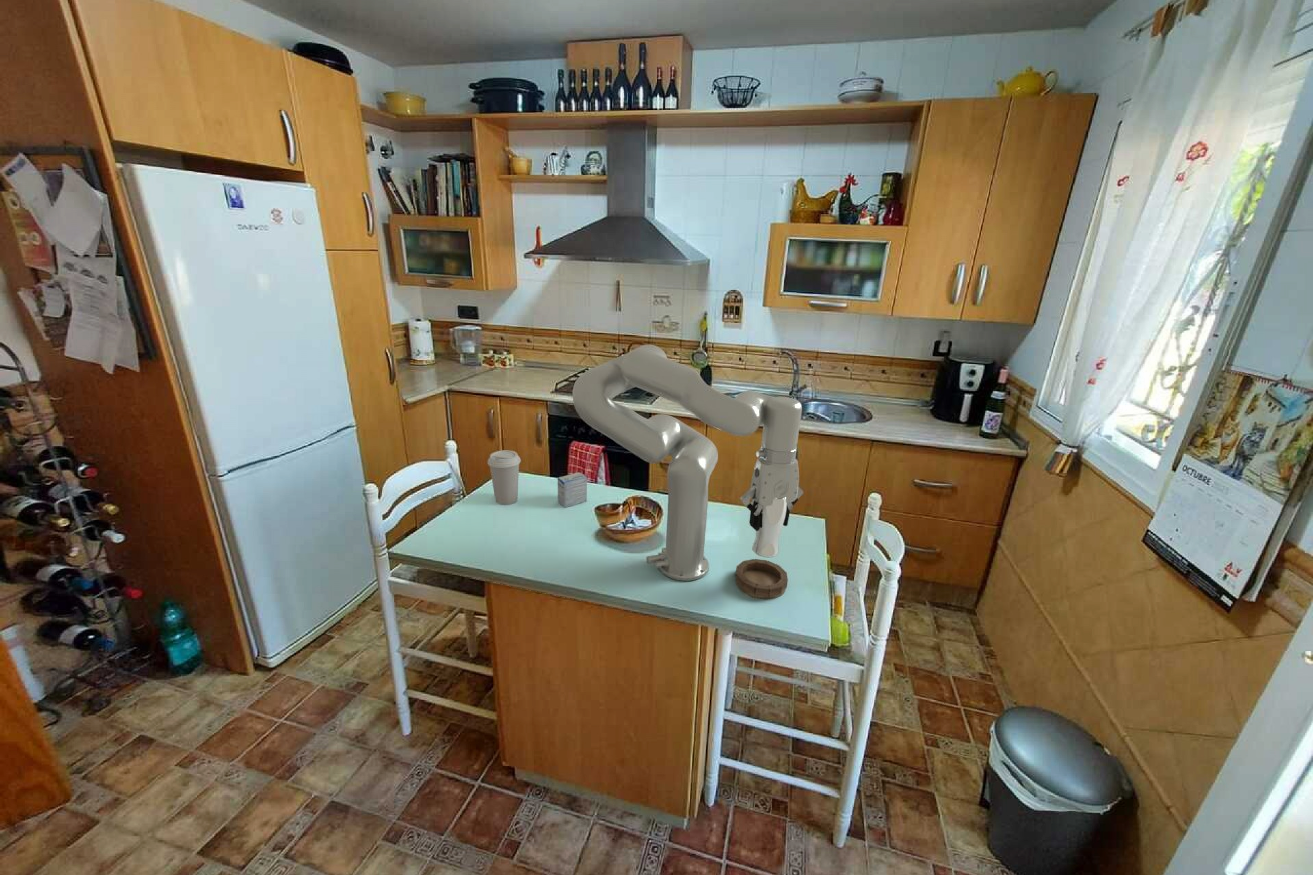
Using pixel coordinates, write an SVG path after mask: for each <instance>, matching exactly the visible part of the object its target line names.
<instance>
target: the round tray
mask: <svg viewBox="0 0 1313 875" xmlns="http://www.w3.org/2000/svg"><path fill="white" fill-rule="evenodd" d="M735 568H736V570H735V579H734V581H735V584H736V586H737V588H738V589H739V590H740V591H741V592H742V593H743V594H745V595H748V596H750V597H752V598H756V599H760V600H761V599H762V600H772V599H777V598H779V597H781V596H783V595H784V594H785V592H786V589H787V588H788V581H789V579H788V573H787V571H786V570H785V569H784V568H782V566H780V565H779V564H777V563H775V562H773V561H769V560H765V559H757V558H752V559H748V560H747V559H746V560H743V561H742V562H740V563H739V564H737V565H736V567H735Z"/></svg>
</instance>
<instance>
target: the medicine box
mask: <svg viewBox="0 0 1313 875" xmlns="http://www.w3.org/2000/svg"><path fill="white" fill-rule="evenodd" d="M587 496H588V477H587V476H586V475H585V474H583V473H582V472H575V473H571V474H567V475H564V476H559V477H557V502H558V504H559V505H561V507H562V508H564V509H566V508H569V507H573V506H575V505H579V504H582V503H586V502H588V498H587Z"/></svg>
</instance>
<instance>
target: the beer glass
mask: <svg viewBox="0 0 1313 875" xmlns="http://www.w3.org/2000/svg"><path fill="white" fill-rule="evenodd" d="M757 505H758V503H757ZM757 505H756V507H757ZM756 507H755V508H756ZM786 510H787V503H786V497H785V498H781V499H773V503H772V505H771V506H763V508H762V510H761V511H760V513H759V514H760V515H761V522H760V530H759V531H756V530H755V538H754V541H753V543H752V546H751V547H752V548H751V549H752V551H753V553H754V554H756V555H757V556H759V557H762V558H775V557H776V556H778V554H779V552H780V551H779V550H780V549H779V548H780V547H779V538H780V534H781V531H782V529H783V526H784V525H783V524H784V520H785V517H786Z"/></svg>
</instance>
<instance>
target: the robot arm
mask: <svg viewBox="0 0 1313 875" xmlns="http://www.w3.org/2000/svg"><path fill="white" fill-rule="evenodd" d="M634 388H638V389H640V390H642V391H646V392H647V393H651V394H653V395H655V396H658V397H660V398H664V399H666V400H667V401H670V402H672V403H675V404H677V405H678V406H681V407H682V408H683V409H684V410H685V411H687V412H688V413H689V414H691V415H692V416H693V417H695V418H696V419H698V420H700V422H702V423H704V424H705V425H708V426H709V427H712V428H715V429H717V430H720V431H722V432H725V433H727V434H729V435H732V436H738V437H746V436H751V434H754V433H755V432H756V431H757V430H758V429H759V427H760V426H762V435H761V437H762V438H761V442H760V443H761V444H760V449H759V450H757V451H756V453H755V455H756V457H757V458H756V462H755V464H754V469H753V471H752V472H753V473H752V476H751V481H750V487H749V489H748V490H747V491H746V492H745V493H744V494H742V495H741V496H740V498H739V500H740V501H741V502H742V503H743V505H744V506H745V507H746V508H747V509H748V510H749V511H750V515H749V520H748V521H749V525H750V527H751V528H752V529H753V530H754V531H755V532H756V531H759V530H760V522H761V515H760V514H759V513H760V511H761V510H762V508H763V506H771V505H772V503H773V499H781V498H785V497H786V503H787V510H786V517H785V520H784V524H783V526H784V527H787V526H788V524H789V519H790V513H791V510H793V509H794V505H795V504H796V503H797V502H798V500H799V499H800V497H801V496H803V494H804V491H803V489H802V488H801V487H800V486H799V485H800V484H799V483H800V470H799V460H798V459H797V458H796V453H797V446H798V440H799V432H800V426H801V419H802V412H803V407H802V403H801V402H800V401H799V400H798V399H795V398H792V397H788V396H772V395H768V394H765V393H764V394H763V393H761V392H757V391H753V390H745V391H742V392H740V393H738V394H737V395H736V396H735V398H734V397H732V396H729V395H727V394H724V393H722V392H720V391H718V390H716V389H714V388H713V387H711V386H710V385H708V384H707V383H706V382H705V381H704V379H703V378H702V376H701V374H699V372H698V371H697V370H696V369H694V368H693V367H690V366H688V365H685V364H682V363H680V362H677V361H674V360H673V359H670V358H668V357H667V354H666V352H665V351H664V350H663V349H662V348H661V347H659V346H658V345H654V344H643V345H641V346H639V347H637V348H634V349H632V350H631V351H629V352H627V353H625V354H622V355H620V356H618V357H616V358H613V359H610V360H608V361H606V362H604V363H602V364H599V365H597V366H594V367H592V368H591V369H589V370H586V371H584V372H583V373H582V374H581V375H580V376H578V378H577V379H576V380H575V382H574V385H573V389H572V402H573V406H574V408H575V410H576V413H577V414H578V416H579V417H580V419H581V420H582V421H583V422H584V423H586V425H588V426H590V427H591V428H592V429H594V430H596V432H599V433H601V434H603V435H604V436H606V437H607V438H609V439H611V440H613V441H614V442H615V443H616V444H617V445H620V447H623V448H624V449H626V450H628V451H629V452H630V453H631V454H634V456H636V457H638V458H640V459H641V460H643V461H645V462H646V463H650V464H657V463H660V462H661V461H664V459H665V458H666V457H668V456H669V457H671V460H670V462H669V464H668V467H667V473H666V475H667V476H666V477H667V479H666V481H667V491H668V492H667V515H666V516H667V518H666V519H667V520H666V534H665V535H666V537H665V547H662V548H661V552H658V553H657V554H653V555H652V554H651V555H648V556H647V555H646V557H645V558H646V564H648V565H650V564H654V566H655V568H658V569H659V570H660V571H661V573H662V574H664V575H665V576H666V577H668V578H671V579H673V580H677V581H683V582H688V581H690V582H691V581H694V580H695V581H696V580H699V579H701V578H703V577H704V576H706V575H707V574H708V572H709V569H710V567H709V566H710V564H709V560H708V559H707V558H706V557H705V556H704V555H705V554H704V553H705V544H706V532H707V520H708V519H707V518H708V517H707V516H708V507H709V505H708V503H709V481H710V477H711V475H712V473H713V471H714V469H715V467H716V465H717V463H718V460H719V453H718V452H719V451H718V449H717V447H716V445H715V443H713V441H712V440H710V439H709V438H708V437H707V436H705V435H703V434H702V433H700V432H699V431H698V430H695V429H694V428H693V427H691V426H689V425H687V424H686V423H684V422H683V421H681V420H679V419H678V418H676V417H674V416H672V415H670V414H664V413H661V414H660V413H659V414H655V415H652V416H651V417H649V418H647V417H644V416H642V415H640V414H639V413H637V412H636V411H635V410H633V409H631V408H629V407H628V406H625V405H622V404H619V403H617V402H615V401H614V400H613V399H614V398H615V397H617V396H618V395H620V394H623V393H624V392H627V391H628V390H631V389H634ZM751 499H752V500H751ZM750 500H751V502H750ZM757 503H758V505H757ZM756 505H757V507H756ZM755 507H756V508H755Z"/></svg>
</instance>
